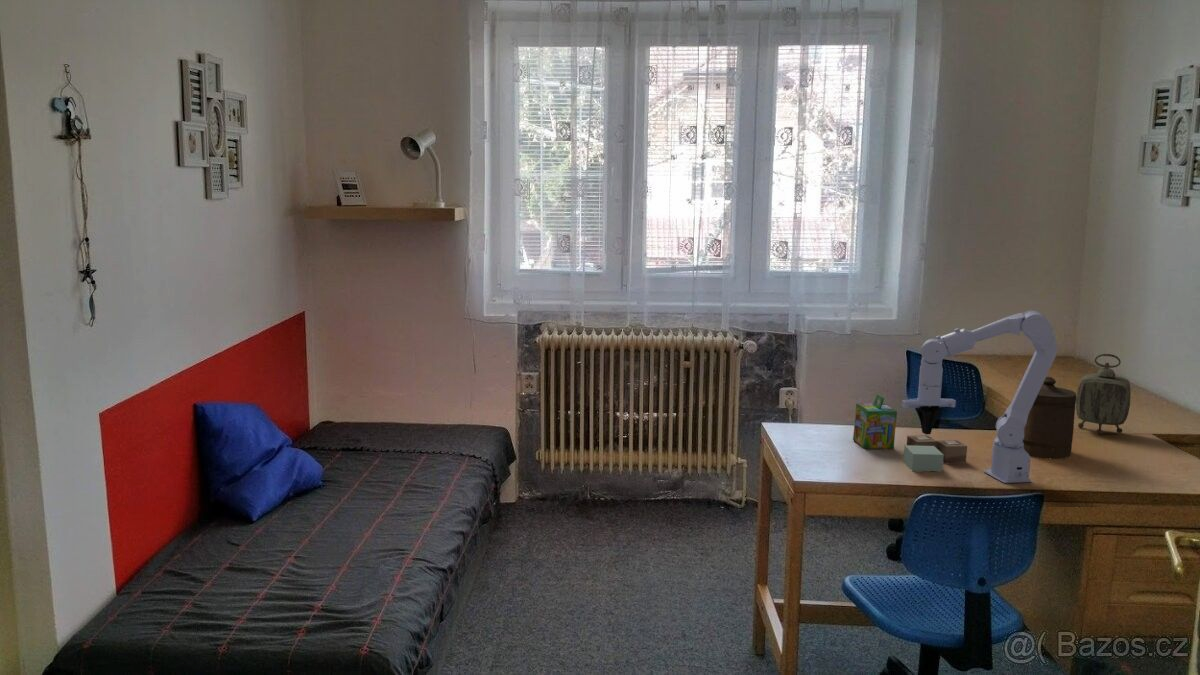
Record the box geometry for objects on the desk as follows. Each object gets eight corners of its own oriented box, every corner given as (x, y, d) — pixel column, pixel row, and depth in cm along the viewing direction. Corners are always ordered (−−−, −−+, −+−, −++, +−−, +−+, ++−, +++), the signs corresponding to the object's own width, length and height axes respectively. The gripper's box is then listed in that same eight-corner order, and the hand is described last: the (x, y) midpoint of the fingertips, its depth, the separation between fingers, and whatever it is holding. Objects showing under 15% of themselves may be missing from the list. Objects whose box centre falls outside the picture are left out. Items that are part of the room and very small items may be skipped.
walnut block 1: (936, 458, 249) (937, 440, 248) (915, 458, 248) (917, 441, 247) (925, 451, 255) (927, 434, 254) (906, 452, 254) (907, 434, 253)
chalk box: (852, 440, 265) (855, 392, 262) (881, 440, 266) (885, 392, 263) (864, 449, 256) (867, 400, 253) (895, 449, 257) (898, 399, 254)
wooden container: (1030, 441, 266) (1037, 369, 262) (1080, 453, 254) (1089, 379, 251) (1003, 449, 258) (1010, 375, 254) (1054, 462, 246) (1062, 385, 242)
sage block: (942, 472, 237) (943, 454, 236) (911, 472, 237) (913, 454, 236) (932, 463, 245) (933, 446, 244) (903, 462, 245) (904, 445, 244)
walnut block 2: (965, 463, 245) (967, 445, 244) (945, 464, 244) (946, 445, 243) (954, 456, 251) (956, 439, 250) (934, 457, 250) (935, 439, 249)
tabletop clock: (1126, 433, 277) (1135, 354, 272) (1125, 440, 269) (1135, 359, 265) (1074, 426, 284) (1082, 349, 280) (1072, 432, 276) (1080, 354, 272)
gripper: (947, 380, 242) (943, 428, 244) (897, 381, 240) (894, 430, 242) (961, 386, 235) (957, 435, 237) (910, 387, 233) (906, 437, 235)
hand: (926, 433), depth 239 cm, fingers closed
